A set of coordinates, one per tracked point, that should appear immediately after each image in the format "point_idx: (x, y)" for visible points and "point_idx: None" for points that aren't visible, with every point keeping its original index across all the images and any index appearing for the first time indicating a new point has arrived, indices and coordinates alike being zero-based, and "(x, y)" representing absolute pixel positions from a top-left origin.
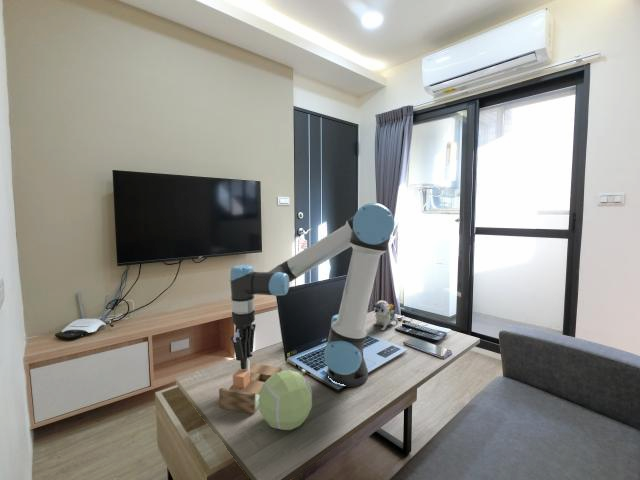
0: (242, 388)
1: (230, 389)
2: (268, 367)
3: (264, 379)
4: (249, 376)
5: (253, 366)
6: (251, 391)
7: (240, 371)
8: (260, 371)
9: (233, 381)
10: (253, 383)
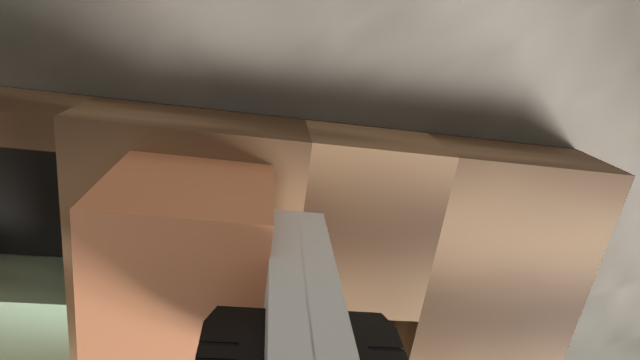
0: None
1: (67, 141)
2: (536, 351)
3: (394, 324)
4: None
5: (570, 204)
6: None
7: (213, 274)
8: (461, 309)
9: (106, 179)
10: None
